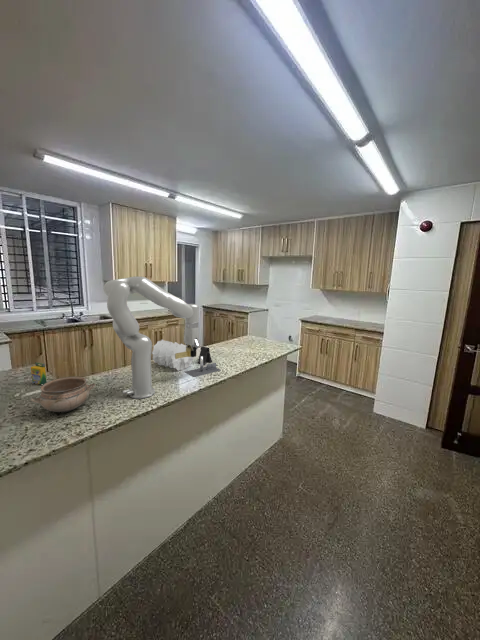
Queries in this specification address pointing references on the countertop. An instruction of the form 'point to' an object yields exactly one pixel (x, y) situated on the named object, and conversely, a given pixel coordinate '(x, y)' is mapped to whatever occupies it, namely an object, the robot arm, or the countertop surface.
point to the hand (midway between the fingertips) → (191, 355)
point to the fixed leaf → (209, 366)
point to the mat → (197, 372)
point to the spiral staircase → (170, 355)
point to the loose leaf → (184, 353)
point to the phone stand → (205, 355)
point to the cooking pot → (64, 394)
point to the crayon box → (38, 374)
